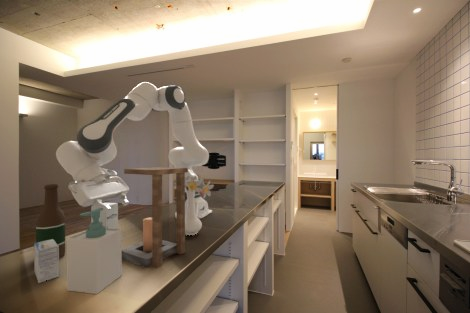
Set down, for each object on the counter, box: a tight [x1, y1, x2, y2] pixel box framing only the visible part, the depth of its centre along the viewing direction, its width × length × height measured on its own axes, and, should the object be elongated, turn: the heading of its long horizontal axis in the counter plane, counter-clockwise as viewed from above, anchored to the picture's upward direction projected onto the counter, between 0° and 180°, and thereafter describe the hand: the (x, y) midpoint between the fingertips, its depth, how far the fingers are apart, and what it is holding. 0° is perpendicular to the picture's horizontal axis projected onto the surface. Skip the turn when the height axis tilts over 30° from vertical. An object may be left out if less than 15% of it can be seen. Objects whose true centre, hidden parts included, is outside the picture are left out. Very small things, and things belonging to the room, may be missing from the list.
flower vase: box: [172, 176, 215, 237], centre depth 93 cm, size 13×18×25 cm
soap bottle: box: [66, 208, 123, 295], centre depth 56 cm, size 9×9×19 cm
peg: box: [142, 217, 152, 253], centre depth 72 cm, size 4×4×12 cm
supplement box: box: [90, 202, 119, 229], centre depth 94 cm, size 7×7×13 cm
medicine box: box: [33, 239, 60, 284], centre depth 60 cm, size 8×4×9 cm, turn 48°
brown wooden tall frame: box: [122, 166, 188, 269], centre depth 72 cm, size 14×16×29 cm
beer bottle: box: [35, 183, 66, 259], centre depth 71 cm, size 8×8×24 cm
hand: (118, 207), depth 75 cm, fingers open, 8 cm apart
